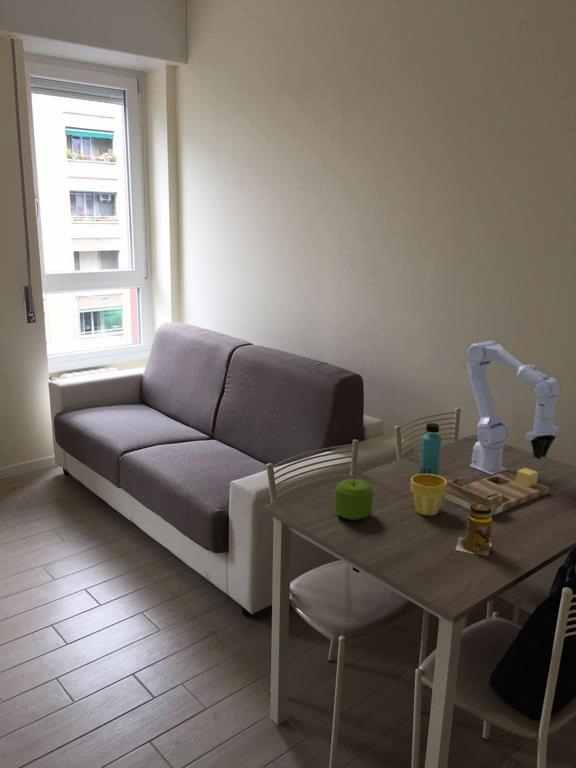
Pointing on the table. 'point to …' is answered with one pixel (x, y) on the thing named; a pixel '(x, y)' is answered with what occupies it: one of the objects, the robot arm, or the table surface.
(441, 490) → the plant pot
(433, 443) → the beverage bottle
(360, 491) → the apple
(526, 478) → the mustard block
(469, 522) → the condiment
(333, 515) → the table surface
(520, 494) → the trap board
